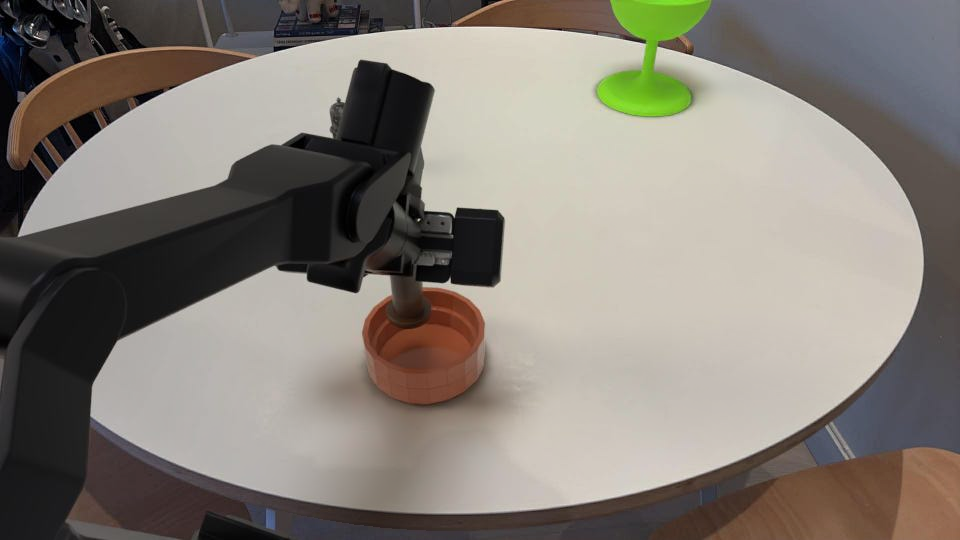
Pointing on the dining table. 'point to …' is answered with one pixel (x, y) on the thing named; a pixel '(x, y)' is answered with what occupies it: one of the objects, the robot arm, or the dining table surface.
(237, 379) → the dining table surface
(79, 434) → the robot arm
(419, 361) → the bowl
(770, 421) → the dining table surface
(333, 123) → the grey chess piece
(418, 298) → the brown cylinder
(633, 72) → the wineglass
